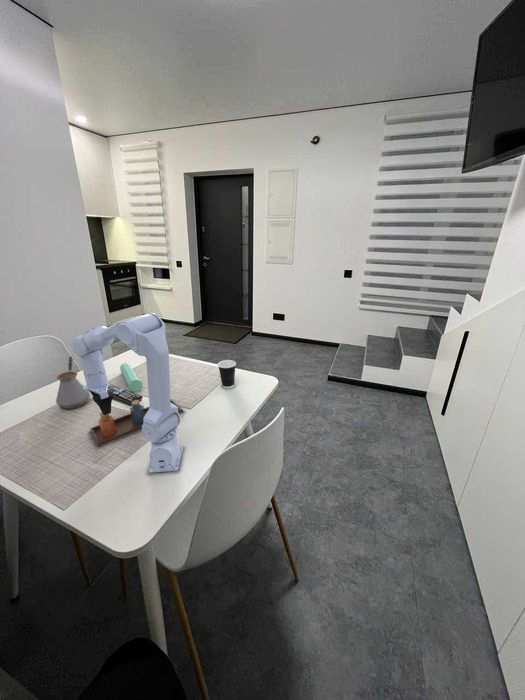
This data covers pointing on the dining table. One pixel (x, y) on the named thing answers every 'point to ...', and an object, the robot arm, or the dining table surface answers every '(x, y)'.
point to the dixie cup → (227, 372)
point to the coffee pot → (71, 390)
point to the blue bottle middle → (137, 412)
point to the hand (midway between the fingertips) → (103, 408)
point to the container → (130, 377)
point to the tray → (121, 427)
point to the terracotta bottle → (107, 425)
